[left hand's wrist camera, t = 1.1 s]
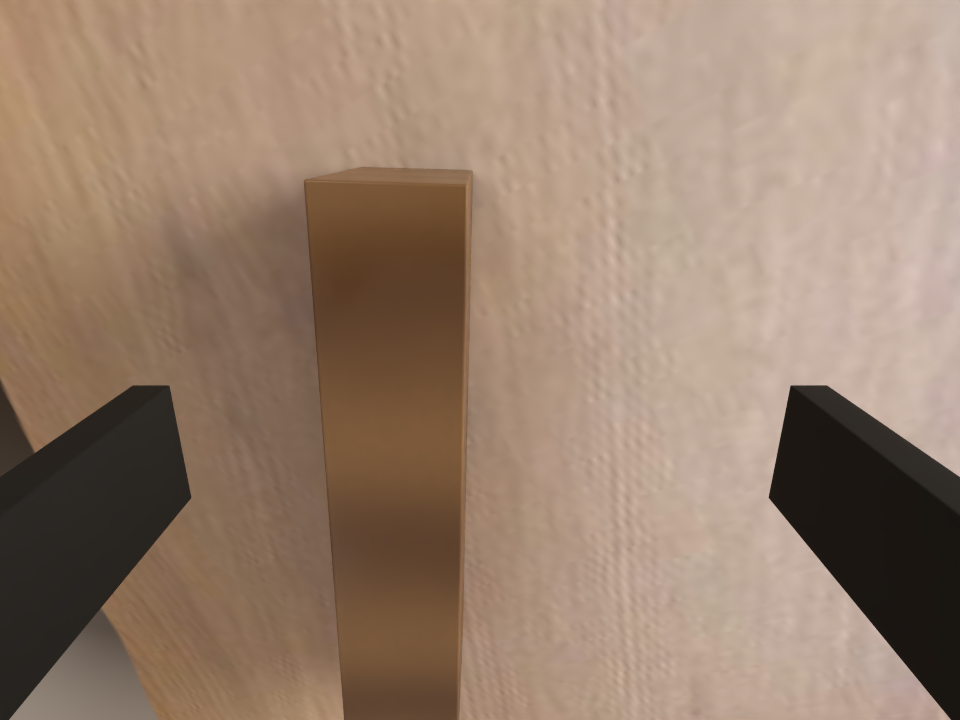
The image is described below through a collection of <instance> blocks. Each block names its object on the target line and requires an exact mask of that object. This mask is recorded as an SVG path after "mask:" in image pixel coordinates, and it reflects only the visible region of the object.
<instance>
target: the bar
mask: <svg viewBox="0 0 960 720" xmlns="http://www.w3.org/2000/svg"><path fill="white" fill-rule="evenodd" d="M472 182H473V172H472V171H471V170H442V169H408V168H373V167H360V168H356V169H351V170H347V171H342V172H338V173H333V174H329V175H324V176H320V177H315V178H311V179H306V180H305V181H304V189H305V202H306V216H307V229H308V242H309V256H310V269H311V282H312V296H313V309H314V323H315V336H316V349H317V363H318V376H319V389H320V403H321V416H322V429H323V443H324V456H325V470H326V483H327V496H328V510H329V523H330V536H331V550H332V563H333V577H334V590H335V603H336V617H337V630H338V643H339V657H340V670H341V684H342V697H343V710H344V720H459V712H460V687H461V663H462V637H463V591H464V546H465V500H466V455H467V409H468V364H469V318H470V273H471V227H472Z"/></svg>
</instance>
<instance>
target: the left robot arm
mask: <svg viewBox="0 0 960 720" xmlns="http://www.w3.org/2000/svg"><path fill="white" fill-rule="evenodd" d="M190 499H191V494H190V489H189V484H188V478H187V473H186V468H185V463H184V458H183V453H182V448H181V443H180V438H179V433H178V428H177V422H176V417H175V412H174V407H173V402H172V397H171V392H170V387H169V386H132V387H130V388H129V389H127V390H126V391H124V392H123V393H121V394H120V395H119V396H117V397H116V398H114V399H113V400H111V401H110V402H108V403H107V404H106V405H104V406H103V407H101V408H100V409H98V410H97V411H95V412H94V413H92V414H91V415H90V416H88V417H87V418H85V419H84V420H82V421H81V422H79V423H78V424H77V425H75V426H74V427H72V428H71V429H69V430H68V431H66V432H65V433H63V434H62V435H61V436H59V437H58V438H56V439H55V440H53V441H52V442H50V443H49V444H48V445H46V446H45V447H43V448H42V449H40V450H39V451H37V452H36V453H34V454H33V455H32V456H30V457H29V458H27V459H26V460H24V461H23V462H21V463H20V464H19V465H17V466H16V467H14V468H13V469H11V470H10V471H8V472H7V473H5V474H4V475H3V476H1V477H0V720H9V719H10V718H11V717H12V715H13V714H14V713H15V712H16V710H17V709H18V708H19V707H20V706H21V704H22V703H23V702H24V701H25V699H26V698H27V697H28V696H29V695H30V693H31V692H32V691H33V690H34V689H35V687H36V686H37V685H38V684H39V682H40V681H41V680H42V679H43V678H44V676H45V675H46V674H47V673H48V672H49V670H50V669H51V668H52V667H53V665H54V664H55V663H56V662H57V660H58V659H59V658H60V657H61V656H62V654H63V653H64V652H65V651H66V650H67V648H68V647H69V646H70V645H71V644H72V642H73V641H74V640H75V639H76V637H77V636H78V635H79V634H80V633H81V631H82V630H83V629H84V628H85V626H86V625H87V624H88V623H89V622H90V620H91V619H92V618H93V617H94V616H95V614H96V613H97V612H98V611H99V609H100V608H101V607H102V606H103V605H104V603H105V602H106V601H107V600H108V598H109V597H110V596H111V595H112V594H113V592H114V591H115V590H116V589H117V588H118V586H119V585H120V584H121V583H122V581H123V580H124V579H125V578H126V577H127V575H128V574H129V573H130V572H131V570H132V569H133V568H134V567H135V566H136V564H137V563H138V562H139V561H140V560H141V558H142V557H143V556H144V555H145V553H146V552H147V551H148V550H149V549H150V547H151V546H152V545H153V544H154V542H155V541H156V540H157V539H158V538H159V536H160V535H161V534H162V533H163V532H164V530H165V529H166V528H167V527H168V525H169V524H170V523H171V522H172V521H173V519H174V518H175V517H176V516H177V514H178V513H179V512H180V511H181V510H182V508H183V507H184V506H185V505H186V504H187V502H188V501H189V500H190ZM769 499H770V500H771V501H772V502H773V504H774V505H775V506H776V507H777V508H778V510H779V511H780V512H781V513H782V514H783V516H784V517H785V518H786V519H787V521H788V522H789V523H790V524H791V525H792V527H793V528H794V529H795V530H796V532H797V533H798V534H799V535H800V536H801V538H802V539H803V540H804V541H805V542H806V544H807V545H808V546H809V547H810V549H811V550H812V551H813V552H814V553H815V555H816V556H817V557H818V558H819V560H820V561H821V562H822V563H823V564H824V566H825V567H826V568H827V569H828V570H829V572H830V573H831V574H832V575H833V577H834V578H835V579H836V580H837V581H838V583H839V584H840V585H841V586H842V588H843V589H844V590H845V591H846V592H847V594H848V595H849V596H850V597H851V598H852V600H853V601H854V602H855V603H856V605H857V606H858V607H859V608H860V609H861V611H862V612H863V613H864V614H865V616H866V617H867V618H868V619H869V620H870V622H871V623H872V624H873V625H874V626H875V628H876V629H877V630H878V631H879V633H880V634H881V635H882V636H883V637H884V639H885V640H886V641H887V642H888V644H889V645H890V646H891V647H892V648H893V650H894V651H895V652H896V653H897V654H898V656H899V657H900V658H901V659H902V661H903V662H904V663H905V664H906V665H907V667H908V668H909V669H910V670H911V672H912V673H913V674H914V675H915V676H916V678H917V679H918V680H919V681H920V682H921V684H922V685H923V686H924V687H925V689H926V690H927V691H928V692H929V693H930V695H931V696H932V697H933V698H934V700H935V701H936V702H937V703H938V704H939V706H940V707H941V708H942V709H943V710H944V712H945V713H946V714H947V715H948V717H949V718H950V719H951V720H960V477H959V476H957V475H956V474H955V473H953V472H952V471H950V470H949V469H947V468H946V467H944V466H943V465H941V464H940V463H939V462H937V461H936V460H934V459H933V458H931V457H930V456H928V455H927V454H926V453H924V452H923V451H921V450H920V449H918V448H917V447H915V446H914V445H912V444H911V443H910V442H908V441H907V440H905V439H904V438H902V437H901V436H899V435H898V434H897V433H895V432H894V431H892V430H891V429H889V428H888V427H886V426H885V425H883V424H882V423H881V422H879V421H878V420H876V419H875V418H873V417H872V416H870V415H869V414H868V413H866V412H865V411H863V410H862V409H860V408H859V407H857V406H856V405H854V404H853V403H852V402H850V401H849V400H847V399H846V398H844V397H843V396H841V395H840V394H839V393H837V392H836V391H834V390H833V389H831V388H830V387H828V386H791V387H790V392H789V397H788V402H787V407H786V412H785V417H784V422H783V428H782V433H781V438H780V443H779V448H778V453H777V458H776V463H775V468H774V473H773V478H772V484H771V489H770V494H769Z"/></svg>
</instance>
